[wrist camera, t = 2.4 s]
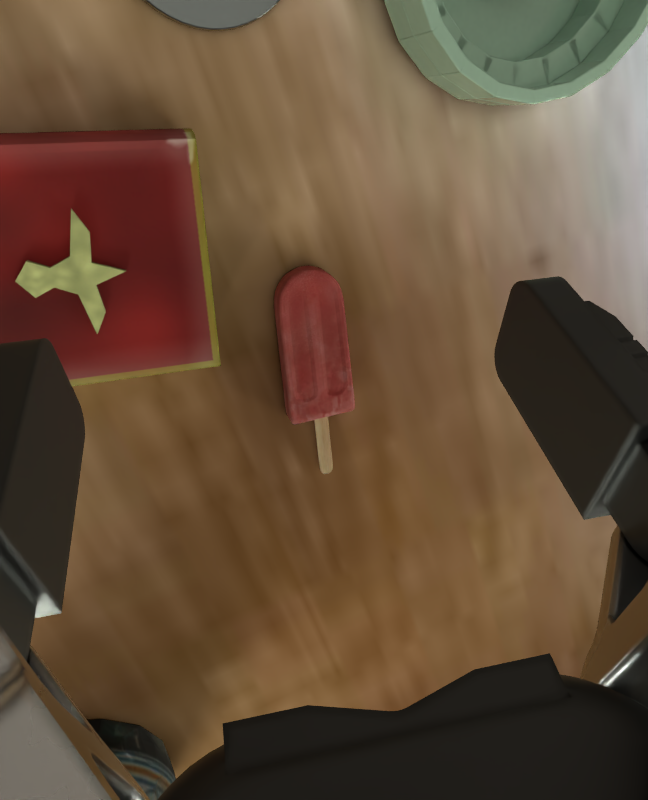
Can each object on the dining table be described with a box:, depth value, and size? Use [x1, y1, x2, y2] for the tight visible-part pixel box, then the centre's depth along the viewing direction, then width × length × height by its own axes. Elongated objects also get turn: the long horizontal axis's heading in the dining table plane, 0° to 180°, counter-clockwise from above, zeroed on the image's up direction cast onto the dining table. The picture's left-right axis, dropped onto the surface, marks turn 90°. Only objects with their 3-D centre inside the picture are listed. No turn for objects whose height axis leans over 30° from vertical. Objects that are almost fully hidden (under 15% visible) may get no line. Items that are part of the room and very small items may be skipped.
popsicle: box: [274, 265, 355, 474], centre depth 38 cm, size 4×2×15 cm
